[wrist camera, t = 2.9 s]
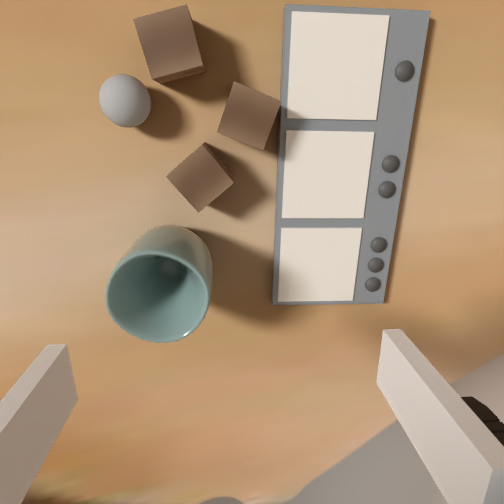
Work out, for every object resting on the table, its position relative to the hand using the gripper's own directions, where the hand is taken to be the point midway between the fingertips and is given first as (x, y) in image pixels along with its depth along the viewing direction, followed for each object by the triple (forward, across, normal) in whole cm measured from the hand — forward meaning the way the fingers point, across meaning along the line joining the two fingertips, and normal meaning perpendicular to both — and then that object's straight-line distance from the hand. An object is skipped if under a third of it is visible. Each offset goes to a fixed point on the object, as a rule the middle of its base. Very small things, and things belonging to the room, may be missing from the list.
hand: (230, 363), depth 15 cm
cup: (+22, -5, -2) cm, 23 cm away
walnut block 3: (+22, +2, +10) cm, 24 cm away
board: (+22, +11, +5) cm, 25 cm away
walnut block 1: (+22, -4, +16) cm, 27 cm away
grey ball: (+22, -8, +12) cm, 26 cm away
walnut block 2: (+22, -2, +5) cm, 22 cm away
